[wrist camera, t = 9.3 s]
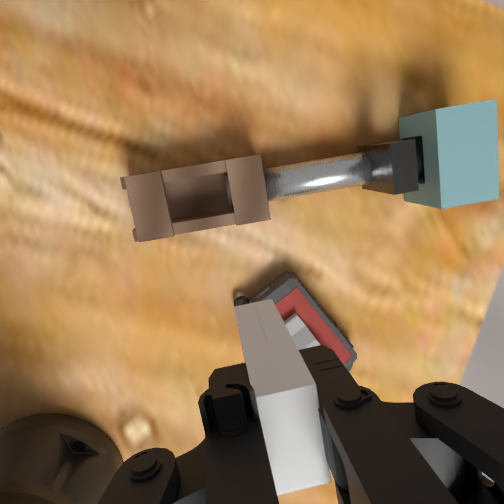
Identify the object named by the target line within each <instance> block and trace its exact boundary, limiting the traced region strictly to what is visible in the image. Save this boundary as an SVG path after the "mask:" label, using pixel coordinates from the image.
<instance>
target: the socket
mask: <svg viewBox="0 0 504 504" xmlns="http://www.w3.org/2000/svg"><path fill="white" fill-rule="evenodd" d="M398 121H399V134H400V141H402V140H411V139H415V143H418V142H423V155H424V170H425V175H419V176H418V186H419V191H413V192H407V193H404V198H405V201H407V202H412V203H416V204H421V205H426V206H430V207H435V208H440V209H444V208H450V207H455V206H461V205H467V204H472V203H478V202H484V201H489V200H495V199H499V172H498V134H497V99H493V100H487V101H481V102H475V103H469V104H463V105H457V106H451V107H445V108H439V109H434V110H430V111H426V112H421V113H417V114H413V115H409V116H405V117H400V118H398Z"/></svg>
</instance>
